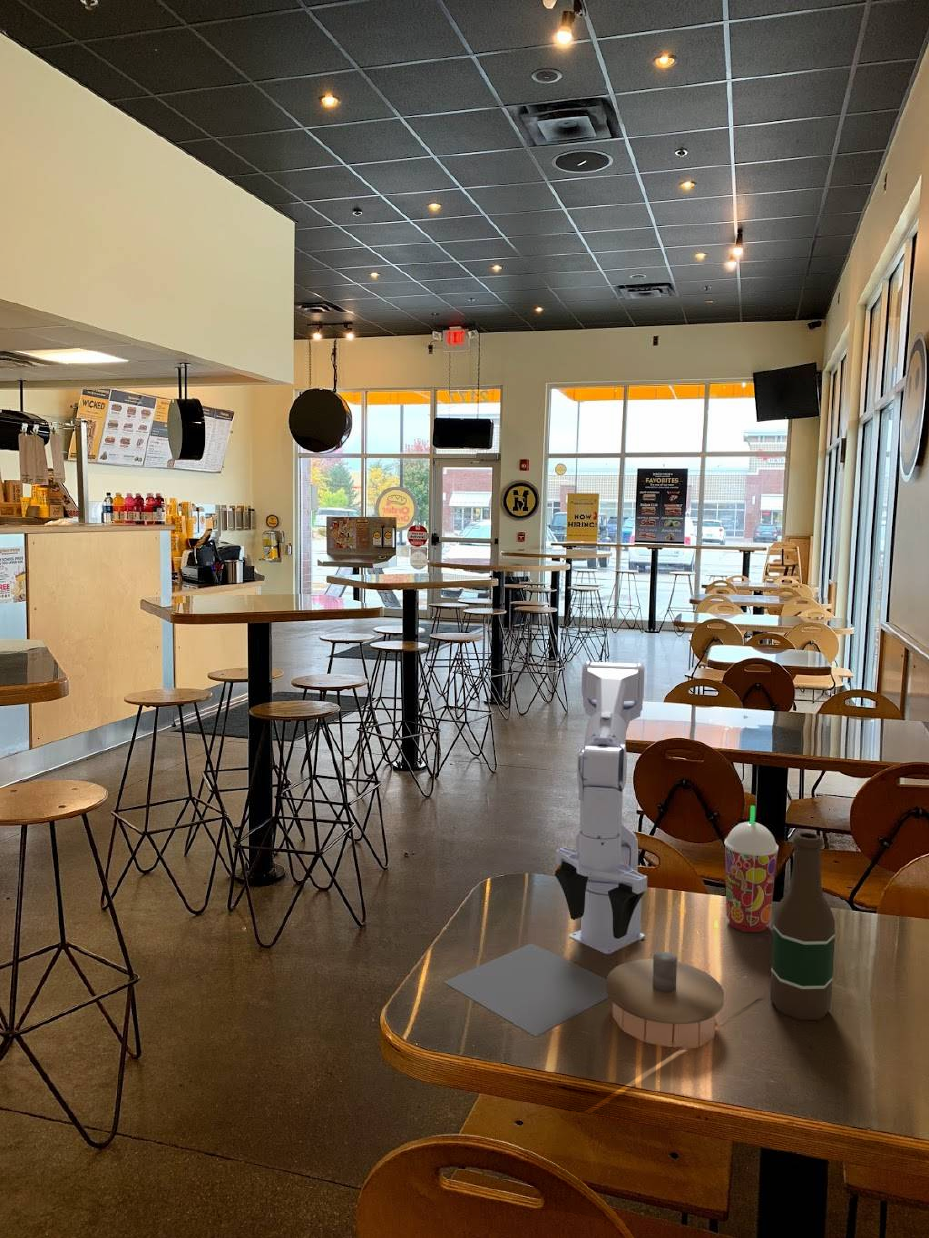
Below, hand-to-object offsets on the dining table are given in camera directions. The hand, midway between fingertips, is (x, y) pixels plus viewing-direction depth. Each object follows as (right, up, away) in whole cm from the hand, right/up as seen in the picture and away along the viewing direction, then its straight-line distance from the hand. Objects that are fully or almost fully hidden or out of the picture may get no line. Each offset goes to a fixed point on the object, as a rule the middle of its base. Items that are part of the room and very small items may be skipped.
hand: (598, 926), depth 124 cm
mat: (-9, -9, +1) cm, 13 cm away
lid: (+8, -6, -7) cm, 12 cm away
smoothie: (+28, -8, +22) cm, 36 cm away
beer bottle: (+27, -10, -3) cm, 29 cm away
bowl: (+8, -10, -7) cm, 14 cm away
